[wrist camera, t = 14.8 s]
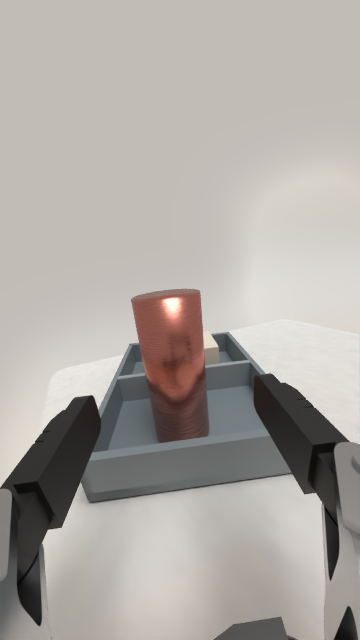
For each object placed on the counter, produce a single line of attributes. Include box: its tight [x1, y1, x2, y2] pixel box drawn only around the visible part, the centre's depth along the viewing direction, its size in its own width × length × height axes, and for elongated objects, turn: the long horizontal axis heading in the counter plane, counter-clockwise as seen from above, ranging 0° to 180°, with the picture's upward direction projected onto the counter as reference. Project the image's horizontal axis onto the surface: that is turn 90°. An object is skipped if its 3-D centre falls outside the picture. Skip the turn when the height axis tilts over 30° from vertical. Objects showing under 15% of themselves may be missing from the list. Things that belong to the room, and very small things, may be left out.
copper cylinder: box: [131, 289, 210, 443], centre depth 17 cm, size 6×6×14 cm
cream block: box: [203, 331, 219, 365], centre depth 28 cm, size 10×6×5 cm, turn 94°
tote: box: [81, 332, 292, 502], centre depth 23 cm, size 18×20×4 cm
